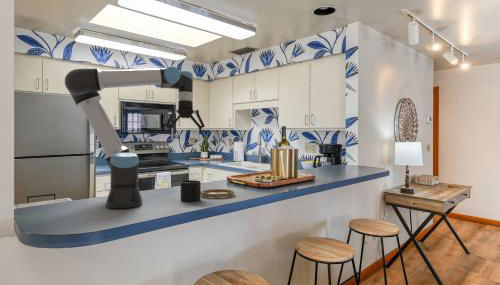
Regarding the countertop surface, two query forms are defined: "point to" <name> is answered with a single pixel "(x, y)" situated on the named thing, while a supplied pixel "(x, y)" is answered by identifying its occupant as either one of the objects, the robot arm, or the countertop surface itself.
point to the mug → (190, 191)
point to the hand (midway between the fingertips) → (185, 140)
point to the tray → (217, 193)
